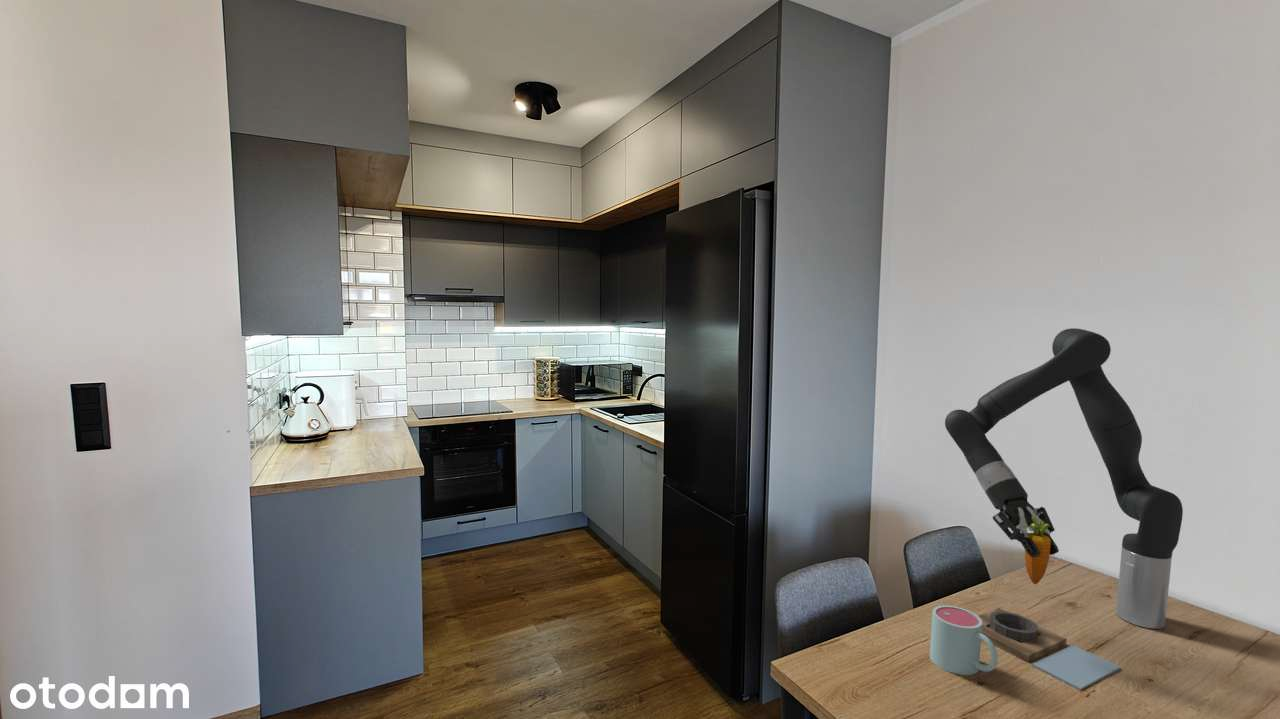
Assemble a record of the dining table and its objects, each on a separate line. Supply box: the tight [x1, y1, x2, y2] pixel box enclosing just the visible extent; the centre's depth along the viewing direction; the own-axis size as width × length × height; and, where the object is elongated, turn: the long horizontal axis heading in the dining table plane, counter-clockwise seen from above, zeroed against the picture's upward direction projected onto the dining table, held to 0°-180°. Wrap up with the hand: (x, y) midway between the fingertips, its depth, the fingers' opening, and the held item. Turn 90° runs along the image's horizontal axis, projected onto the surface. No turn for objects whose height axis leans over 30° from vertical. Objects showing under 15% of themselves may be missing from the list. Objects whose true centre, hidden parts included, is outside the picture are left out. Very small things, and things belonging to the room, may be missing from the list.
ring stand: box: [978, 608, 1067, 663], centre depth 134 cm, size 15×15×4 cm
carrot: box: [1024, 517, 1051, 585], centre depth 130 cm, size 5×5×15 cm
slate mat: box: [1031, 644, 1121, 691], centre depth 123 cm, size 16×9×1 cm, turn 118°
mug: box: [929, 605, 999, 676], centre depth 121 cm, size 14×9×10 cm
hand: (1045, 554), depth 128 cm, fingers closed on carrot, 4 cm apart
